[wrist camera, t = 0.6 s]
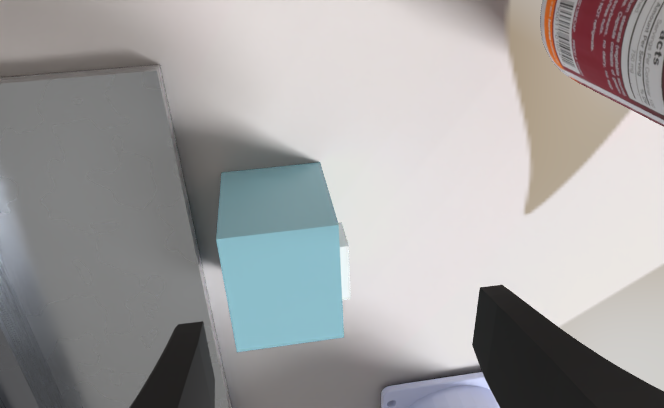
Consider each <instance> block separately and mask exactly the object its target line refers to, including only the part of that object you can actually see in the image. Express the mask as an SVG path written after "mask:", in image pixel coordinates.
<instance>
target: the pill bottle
mask: <svg viewBox="0 0 664 408" xmlns="http://www.w3.org/2000/svg"><path fill="white" fill-rule="evenodd" d="M540 27H541V35H542V40H543V43H544V47H545V49H546V51H547V53H548V55H549V57H550V58H551V60H552V62H553V63H554V64H555V65H556V66H557V67H558V68H559V70H561V71H562V72H563V73H564V74H565V75H567V76H568V77H570V78H571V79H573V80H575V81H576V82H578V83H580V84H582V85H584V86H586V87H588V88H590V89H592V90H593V91H595V92H597V93H599V94H601V95H603V96H605V97H608V98H610V99H611V100H613V101H615V102H617V103H619V104H621V105H623V106H625V107H627V108H629V109H631V110H633V111H634V112H636V113H638V114H640V115H642V116H644V117H646V118H648V119H650V120H652V121H654V122H656V123H658V124H660V125H662V126H664V0H543V2H542V8H541V16H540Z"/></svg>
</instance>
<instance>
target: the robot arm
mask: <svg viewBox="0 0 664 408" xmlns="http://www.w3.org/2000/svg"><path fill="white" fill-rule="evenodd" d="M472 345H473V348H474V351H475V354H476V356H477V359H478V362H479V365H480V367H481V370H482V372H478V373H471V374H465V375H458V376H452V377H445V378H438V379H432V380H425V381H418V382H412V383H405V384H398V385H392V386H387V387H386V388H384V389H383V390H382V392H381V408H664V391H662V390H660V389H658V388H656V387H654V386H652V385H650V384H648V383H646V382H644V381H643V380H641V379H639V378H637V377H636V376H634V375H632V374H630V373H628V372H626V371H625V370H623V369H621V368H620V367H618V366H616V365H615V364H613V363H611V362H610V361H608V360H606V359H605V358H603V357H602V356H600V355H598V354H597V353H596V352H594V351H592V350H591V349H589V348H588V347H586V346H585V345H583V344H582V343H580V342H579V341H577V340H576V339H575V338H573V337H572V336H570V335H569V334H567V333H566V332H564V331H563V330H562V329H560V328H559V327H558V326H556V325H555V324H553V323H552V322H551V321H549V320H548V319H547V318H545V317H544V316H543V315H541V314H540V313H539V312H537V311H536V310H535V309H533V308H532V307H531V306H530V305H528V304H527V303H526V302H524V301H523V300H522V299H520V298H519V297H518V296H516V295H515V294H514V293H512V292H511V291H510V290H508V289H507V288H506V287H504V286H503V285H497V286H489V287H481V288H480V291H479V299H478V306H477V314H476V322H475V329H474V337H473V344H472ZM391 400H392V401H391ZM129 408H215V377H214V372H213V367H212V362H211V357H210V352H209V347H208V342H207V337H206V333H205V328H204V323H203V321H201V322H193V323H184V324H178V325H177V326H176V327H175V329H174V331H173V333H172V335H171V337H170V339H169V341H168V343H167V345H166V347H165V349H164V351H163V353H162V354H161V356H160V358H159V360H158V362H157V364H156V365H155V367H154V369H153V371H152V372H151V374H150V376H149V377H148V379H147V381H146V382H145V384H144V386H143V387H142V389H141V391H140V392H139V394H138V395H137V397H136V399H135V400H134V401H133V403H132V404H131V406H130V407H129Z"/></svg>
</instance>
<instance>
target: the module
mask: <svg viewBox="0 0 664 408" xmlns="http://www.w3.org/2000/svg"><path fill="white" fill-rule="evenodd" d="M216 242H217V247H218V253H219V258H220V263H221V269H222V274H223V279H224V285H225V290H226V296H227V301H228V306H229V312H230V317H231V322H232V328H233V333H234V339H235V344H236V349H237V352H242V351H249V350H257V349H264V348H271V347H278V346H285V345H292V344H300V343H307V342H314V341H321V340H328V339H336V338H343V337H344V328H343V307H342V300H346V299H351V295H350V268H349V245H348V242H347V239H346V236H345V232H344V229H343V226H342V223H338V221H337V218H336V214H335V211H334V208H333V204H332V201H331V198H330V194H329V191H328V187H327V184H326V181H325V177H324V174H323V171H322V167H321V164H320V162H317V163H308V164H298V165H289V166H279V167H270V168H260V169H250V170H241V171H231V172H222V173H221V185H220V197H219V209H218V221H217V234H216Z"/></svg>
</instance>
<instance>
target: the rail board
mask: <svg viewBox="0 0 664 408" xmlns="http://www.w3.org/2000/svg"><path fill="white" fill-rule="evenodd" d="M201 321H203V323H204V328H205V333H206V337H207V342H208V347H209V352H210V357H211V362H212V367H213V372H214V377H215V408H232V407H231V402H230V398H229V393H228V388H227V383H226V378H225V374H224V369H223V364H222V359H221V355H220V350H219V345H218V340H217V335H216V331H215V326H214V321H213V316H212V311H211V307H210V302H209V297H208V292H207V287H206V283H205V278H204V273H203V268H202V263H201V259H200V254H199V249H198V244H197V239H196V235H195V230H194V225H193V220H192V215H191V211H190V206H189V201H188V196H187V191H186V187H185V182H184V177H183V172H182V167H181V163H180V158H179V153H178V148H177V143H176V139H175V134H174V129H173V124H172V119H171V115H170V110H169V105H168V100H167V95H166V91H165V86H164V81H163V76H162V72H161V67H160V65H148V66H136V67H124V68H111V69H99V70H87V71H75V72H63V73H51V74H39V75H27V76H15V77H3V78H0V408H129V407H130V406H131V404H132V403H133V401H134V400H135V399H136V397H137V395H138V394H139V392H140V391H141V389H142V387H143V386H144V384H145V382H146V381H147V379H148V377H149V376H150V374H151V372H152V371H153V369H154V367H155V365H156V364H157V362H158V360H159V358H160V356H161V354H162V353H163V351H164V349H165V347H166V345H167V343H168V341H169V339H170V337H171V335H172V333H173V331H174V329H175V327H176V326H177V325H178V324H184V323H193V322H201Z"/></svg>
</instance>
